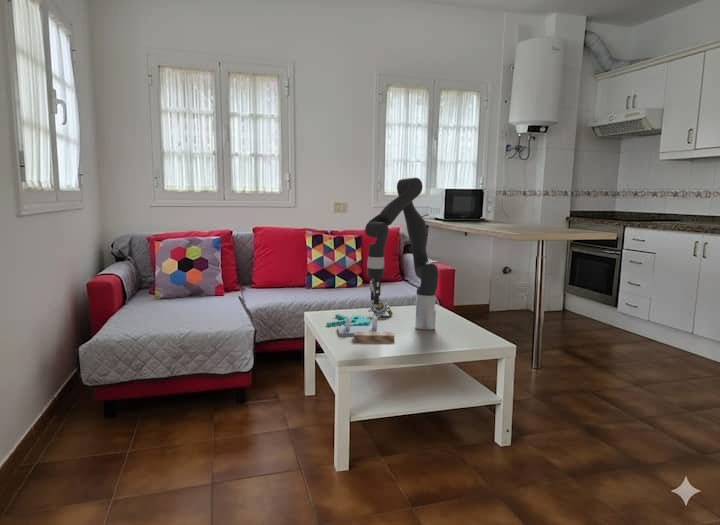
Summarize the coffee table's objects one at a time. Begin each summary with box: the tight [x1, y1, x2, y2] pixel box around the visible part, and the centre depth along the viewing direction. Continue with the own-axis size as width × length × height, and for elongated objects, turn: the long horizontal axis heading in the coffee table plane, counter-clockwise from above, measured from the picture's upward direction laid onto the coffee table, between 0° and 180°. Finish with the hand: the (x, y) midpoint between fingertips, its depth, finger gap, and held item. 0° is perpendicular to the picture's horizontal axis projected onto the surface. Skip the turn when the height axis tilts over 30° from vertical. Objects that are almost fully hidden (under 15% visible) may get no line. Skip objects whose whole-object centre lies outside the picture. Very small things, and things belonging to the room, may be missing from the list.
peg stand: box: [336, 315, 387, 337], centre depth 233 cm, size 22×12×8 cm, turn 98°
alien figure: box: [326, 313, 372, 328], centre depth 250 cm, size 20×2×20 cm
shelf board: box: [353, 331, 396, 343], centre depth 221 cm, size 18×6×4 cm, turn 93°
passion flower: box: [368, 297, 394, 319], centre depth 265 cm, size 11×11×12 cm
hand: (374, 302), depth 219 cm, fingers open, 8 cm apart
